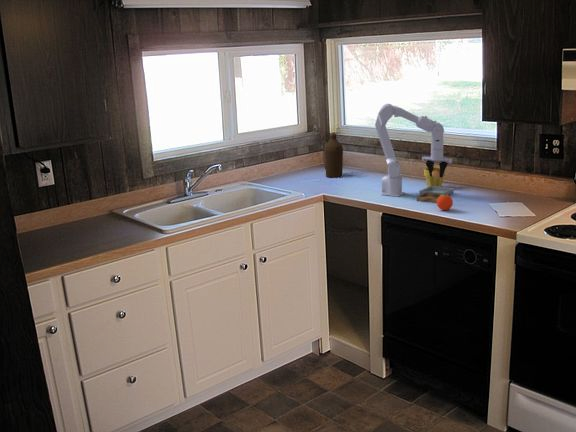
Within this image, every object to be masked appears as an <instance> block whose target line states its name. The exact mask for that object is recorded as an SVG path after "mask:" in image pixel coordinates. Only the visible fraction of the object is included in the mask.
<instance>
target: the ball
mask: <svg viewBox="0 0 576 432" xmlns="http://www.w3.org/2000/svg"><path fill="white" fill-rule="evenodd" d="M432 176H433V177H434V178H439V177H440V170H439V169H434V170H433V171H432Z"/></svg>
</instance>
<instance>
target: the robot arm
mask: <svg viewBox="0 0 576 432" xmlns="http://www.w3.org/2000/svg"><path fill="white" fill-rule="evenodd" d="M392 117H394V118H402V119H406V120H408V121H410V122H412V123H415V126H416V127H417V128H419V129H421V130H423V131H425V132H427V133H431V140H430V156H422V157H421V161H422V162H425V165H426V168H428V170H429V173H430V177H432V171H433V168H434V167H435V162H436V163H439V164H438V165H439V166H438V167H440V177H441V178H442V177H443V175H444V171H445V172H446V168H447V166H448V165H449V164H452V163H453V158H450V157H444V133H445V129H444V126H443V124H441V123H440V122H437V120H433V119H431V118H428V116H427V115H420V116H418V115H416V114H413V113H411V112H410V111H407V110H406V109H404V108H402V107H399V106H398V105H393V104H391V103H385V104H384V105H382V106H381V108H380V109H379V111H378V113H377V116H376V120H375V125H374V126H375V129H376V130H375V131H376V132H377V133H376V134H377V135H378V138H379V142H380V145H381V148H382V151H383V154H384V158H385V160H386V166H387V174H386V175H384V176H383V177H382V179H381V193H380V194H381V195H382V196H391V197H400V196H403V195H404V194H406V192H403V175H402V165H401V163H400V162H399V161H398V159H397V157H396V154H395V151H394V148H393V145H392V142H391V138H390V136H389V133H388V130H387V126H386V125H387V123H388V122H389V120H390V119H391V118H392ZM443 178H444V177H443ZM381 195H380V196H381Z"/></svg>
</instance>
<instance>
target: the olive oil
mask: <svg viewBox="0 0 576 432" xmlns="http://www.w3.org/2000/svg"><path fill="white" fill-rule="evenodd" d="M329 137H330V138H329V140H328V142H327V143H326V144H325V145H324V149H323V153H324V154H323V155H324V169H325V177H326V178H329V179H331V178H332V179H338V178H342V177H343V166H344V163H343V160H344V157H343V156H344V148H343V145H342V144H341V143H340V141H339V140H338V139H337V132H335V131H334V132H333V131H332V132H330V133H329Z"/></svg>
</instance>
